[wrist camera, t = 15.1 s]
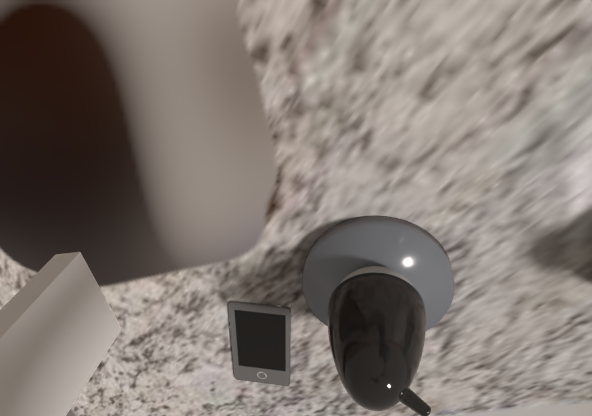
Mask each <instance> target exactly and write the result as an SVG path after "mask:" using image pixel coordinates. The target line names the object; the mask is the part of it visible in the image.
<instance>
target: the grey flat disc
mask: <svg viewBox="0 0 592 416" xmlns="http://www.w3.org/2000/svg"><path fill="white" fill-rule="evenodd" d="M370 266H380V267H386V268H390V269H392V270H395V271H397V272H399V273H400V274H402V275H403V276H404V277H406V278H407V279H408V280H409V281H410V282H411V283H412V285H413V286H414V288H415V289H416V290H417V291H418V292H419V293H420V295H421V297H422V299H423V301H424V305H425V311H426V330H425V331H427V330H428V329H430V328H431V327H433V326H434V325H435V324H436V323H437V322H438V321H440V320H441V319H442V317H443V316H444V315H445V314H446V312H447V310H448V309H449V307H450V305H451V302H452V299H453V295H454V278H453V273H452V268H451V264H450V261H449V258H448V255H447V254H446V252H445V250H444V248H443V247H442V246H441V244H440V243H439V242H438V241H437V240H436V239H435V238H434V237H433V236H432V235H431V234H430V233H428V232H427V231H426V230H424V229H422V228H421V227H419V226H417V225H415V224H413V223H410V222H408V221H405V220H402V219H398V218H393V217H387V216H364V217H358V218H354V219H350V220H347V221H344V222H342V223H339V224H337V225H335V226H334V227H332V228H330V229H328V230H327V231H326V232H325V233H323V234H322V235H321V236H320V237H319V238H318V239H317V240H316V241H315V243H314V244H313V245H312V247H311V249H310V251H309V253H308V255H307V258H306V261H305V266H304V270H303V276H302V288H303V293H304V296H305V299H306V302H307V304H308V305H309V307H310V309H311V310H312V312H313V313H314V314H315V315H316V316H317V317H318V319H319V320H320V321H322V322H323V323H324V324H325V325H326V326H328V317H327V315H328V304H329V299H330V297H331V294H332V293H333V291H334V290H335V288H336V287H337V286H338V285H339V284H340V283H341V281H342V280H343V279H344V278H345V277H346V276H348V275H349V274H350V273H352V272H354V271H356V270H358V269H361V268H364V267H370Z"/></svg>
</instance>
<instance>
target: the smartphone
mask: <svg viewBox="0 0 592 416" xmlns="http://www.w3.org/2000/svg"><path fill="white" fill-rule="evenodd" d="M228 308H229V321H230V332H231V343H232V355H233V367H234V377H235V379H237V380H245V381H252V382H260V383H268V384H275V385H283V386H289V385H290V333H291V310H290V308H289V307H282V306H279V305H276V306H273V305H264V304H256V303H247V302H238V301H230V302H229V305H228Z"/></svg>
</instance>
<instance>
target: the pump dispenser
mask: <svg viewBox="0 0 592 416" xmlns="http://www.w3.org/2000/svg"><path fill="white" fill-rule="evenodd" d="M327 317H328V334H329V341H330V347H331V351H332V355H333V359H334V362H335V365H336V369H337V371H338V374H339V377H340V379H341V381H342V383H343V385H344V387H345V389H346V391H347V392H348V394H349V395H350V396H351V398H352V399H353V400H354V401H355V402H356V403H357V404H358V405H360V406H361V407H363V408H365V409H368V410H372V411H383V410H387V409H389V408H391V407H393V406H394V405H396V404H397V403H398V402H399V401H400V402H402V403H403V404H405V405H406V406H408V407H409V408H411V409H412V410H414V411H415V412H417V413H418V414H420V415H421V416H428V415H429V414H430V412H431V408H430V406H428V405H427V404H426V403H425V402H424V401H423V400H422V399H421V398H419V397H418V396H417V395H416V394H415V393H414V392H413V391H412V390H411V389H410V388H409V387H410V385H411V383H412V381H413V379H414V377H415V375H416V372H417V369H418V367H419V363H420V360H421V356H422V352H423V347H424V340H425V330H426V311H425V305H424V301H423V299H422V297H421V295H420V293H419V292H418V291H417V290H416V289H415V288H414V286H413V285H412V283H411V282H410V281H409V280H408V279H407V278H406V277H404V276H403V275H402V274H400V273H399V272H397V271H395V270H392V269H390V268H386V267H380V266H370V267H364V268H361V269H358V270H356V271H354V272H352V273H350V274H349V275H348V276H346V277H345V278H344V279H343V280H342V281H341V283H340V284H339V285H338V286H337V287H336V288H335V290H334V291H333V293H332V294H331V297H330V299H329V304H328V315H327Z"/></svg>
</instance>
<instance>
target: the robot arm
mask: <svg viewBox="0 0 592 416" xmlns="http://www.w3.org/2000/svg"><path fill="white" fill-rule="evenodd" d="M121 329H122V328H121V326H120V325H119V323H118V321H117V319H116V317H115V315H114V314H113V312H112V310H111V308H110V306H109V304H108V302H107V301H106V299H105V297H104V295H103V293H102V291H101V290H100V288H99V286H98V284H97V282H96V280H95V279H94V277H93V275H92V273H91V271H90V269H89V268H88V266H87V264H86V262H85V260H84V258H83V256H82V254H81V253H80V252H76V253H67V254H57V255H55V256H54V257H53V258H52V259H51V260H50V261H49V262H48V263H47V264H46V265H45V266H44V267H43V268H42V269H41V270H40V271H39V272H38V273H37V274H36V275H35V276H34V277H33V278H32V279H31V280H30V281H29V282H28V283H27V284H26V285H25V286H24V287H23V288H22V289H21V290H20V291H19V292H18V293H17V294H16V295H15V296H14V297H13V298H12V299H11V300H10V301H9V302H8V303H7V304H6V305H5V306H4V307H3V308H2V309H1V310H0V416H66V415H67V413H68V412H69V410H70V409H71V407H72V406H73V404H74V402H75V401H76V399H77V398H78V396H79V395H80V393H81V392H82V390H83V388H84V387H85V385H86V384H87V382H88V381H89V379H90V378H91V376H92V374H93V373H94V371H95V370H96V368H97V367H98V365H99V364H100V362H101V360H102V359H103V357H104V356H105V354H106V353H107V351H108V350H109V348H110V346H111V345H112V343H113V342H114V340H115V339H116V337H117V336H118V334H119V332H120V331H121Z"/></svg>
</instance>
